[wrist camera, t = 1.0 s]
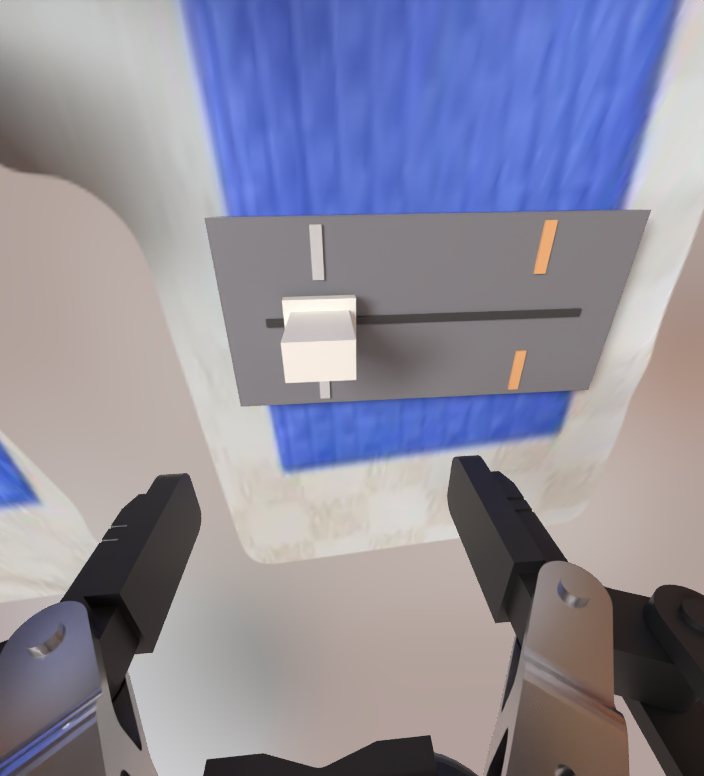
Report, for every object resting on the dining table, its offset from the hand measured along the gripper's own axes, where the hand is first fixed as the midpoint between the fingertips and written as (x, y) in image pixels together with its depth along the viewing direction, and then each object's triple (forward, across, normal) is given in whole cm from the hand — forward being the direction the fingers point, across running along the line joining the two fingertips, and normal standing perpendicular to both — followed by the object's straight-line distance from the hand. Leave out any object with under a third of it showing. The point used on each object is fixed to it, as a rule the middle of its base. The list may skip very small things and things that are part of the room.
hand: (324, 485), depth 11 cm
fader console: (+20, -8, 0) cm, 21 cm away
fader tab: (+16, 0, 0) cm, 16 cm away
